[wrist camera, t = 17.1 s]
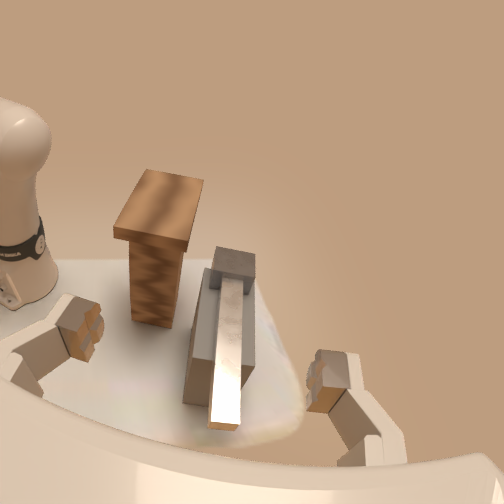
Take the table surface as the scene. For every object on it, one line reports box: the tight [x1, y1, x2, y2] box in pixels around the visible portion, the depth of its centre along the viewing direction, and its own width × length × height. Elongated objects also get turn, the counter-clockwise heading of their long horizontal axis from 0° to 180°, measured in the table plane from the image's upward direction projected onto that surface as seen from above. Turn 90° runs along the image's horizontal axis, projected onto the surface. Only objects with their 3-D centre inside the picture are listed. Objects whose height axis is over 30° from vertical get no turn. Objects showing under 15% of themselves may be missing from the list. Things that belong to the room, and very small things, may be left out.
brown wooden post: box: [113, 169, 203, 328], centre depth 53 cm, size 10×16×26 cm, turn 1°
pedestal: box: [183, 268, 255, 407], centre depth 49 cm, size 8×16×17 cm, turn 1°
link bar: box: [207, 246, 255, 431], centre depth 40 cm, size 6×26×4 cm, turn 1°
